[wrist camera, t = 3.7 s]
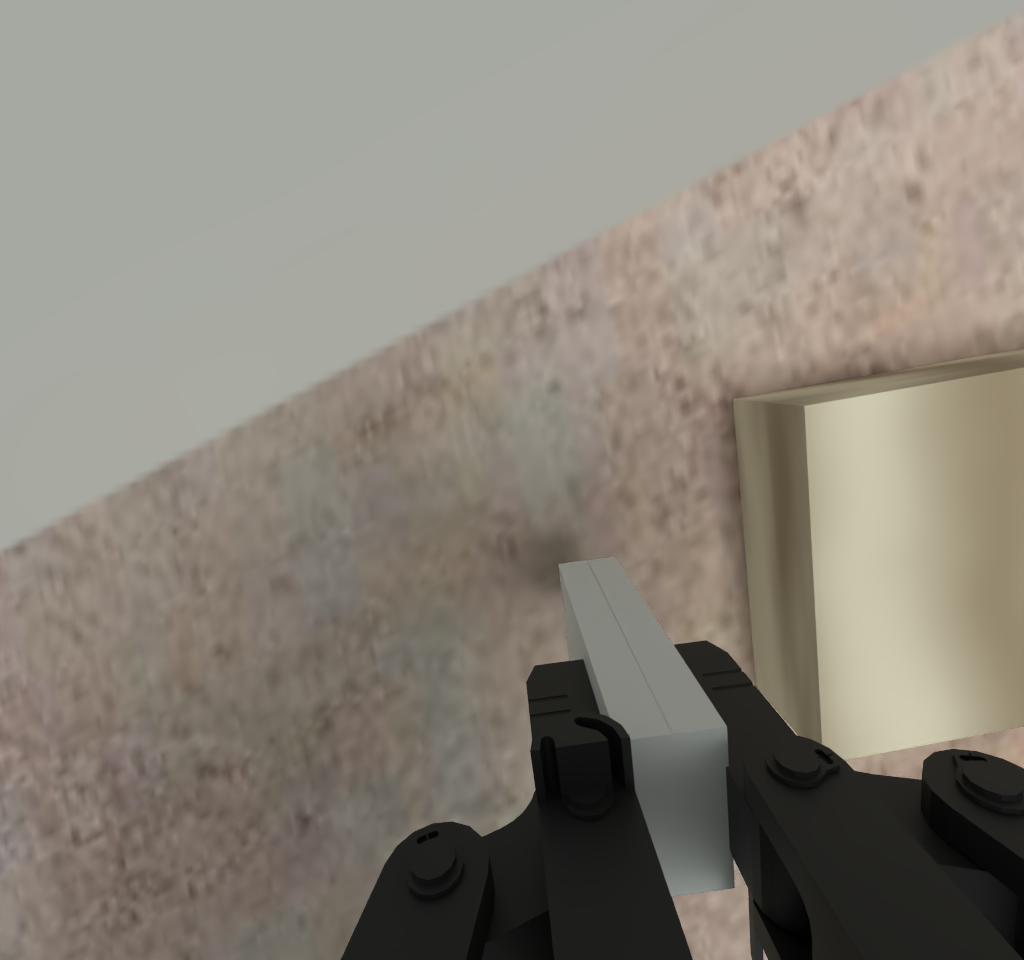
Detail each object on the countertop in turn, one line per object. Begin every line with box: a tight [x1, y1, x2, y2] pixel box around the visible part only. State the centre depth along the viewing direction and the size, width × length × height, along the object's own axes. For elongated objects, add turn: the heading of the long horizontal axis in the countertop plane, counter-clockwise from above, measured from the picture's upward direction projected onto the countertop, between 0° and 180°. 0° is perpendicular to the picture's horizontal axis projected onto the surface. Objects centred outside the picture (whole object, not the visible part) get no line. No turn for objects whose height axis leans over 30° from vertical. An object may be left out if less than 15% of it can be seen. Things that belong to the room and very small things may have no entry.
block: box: [733, 348, 1024, 760], centre depth 15 cm, size 10×10×4 cm
